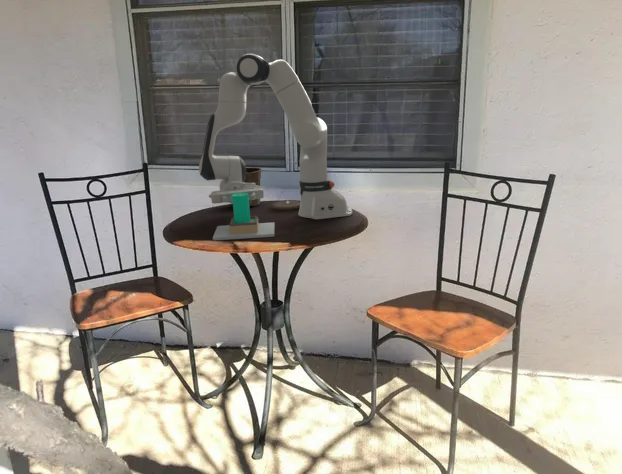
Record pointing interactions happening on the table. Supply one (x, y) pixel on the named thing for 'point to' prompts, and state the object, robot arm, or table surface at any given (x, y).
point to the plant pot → (253, 181)
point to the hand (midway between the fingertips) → (240, 199)
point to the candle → (241, 208)
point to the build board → (261, 232)
